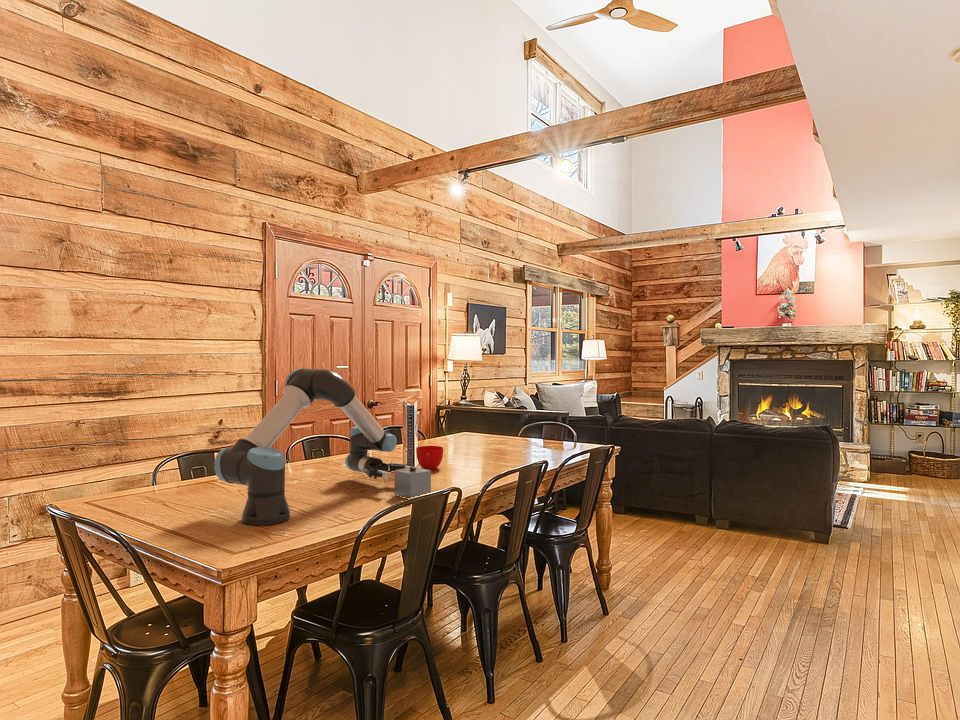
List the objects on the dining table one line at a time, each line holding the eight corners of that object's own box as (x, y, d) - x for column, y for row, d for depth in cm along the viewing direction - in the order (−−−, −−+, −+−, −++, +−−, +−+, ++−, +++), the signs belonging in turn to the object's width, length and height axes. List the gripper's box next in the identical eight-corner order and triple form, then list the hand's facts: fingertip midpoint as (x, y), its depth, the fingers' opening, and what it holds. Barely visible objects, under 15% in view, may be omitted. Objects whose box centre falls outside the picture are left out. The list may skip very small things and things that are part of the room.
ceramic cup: (413, 472, 280) (413, 451, 280) (418, 465, 297) (418, 445, 297) (440, 473, 280) (441, 451, 279) (444, 466, 296) (444, 445, 296)
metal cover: (430, 496, 236) (431, 467, 236) (410, 500, 229) (410, 470, 229) (414, 491, 243) (414, 463, 243) (394, 495, 236) (394, 467, 236)
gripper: (395, 470, 265) (426, 478, 250) (345, 479, 247) (375, 487, 232) (395, 453, 265) (426, 460, 250) (345, 460, 247) (375, 468, 232)
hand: (402, 473), depth 241 cm, fingers open, 13 cm apart
